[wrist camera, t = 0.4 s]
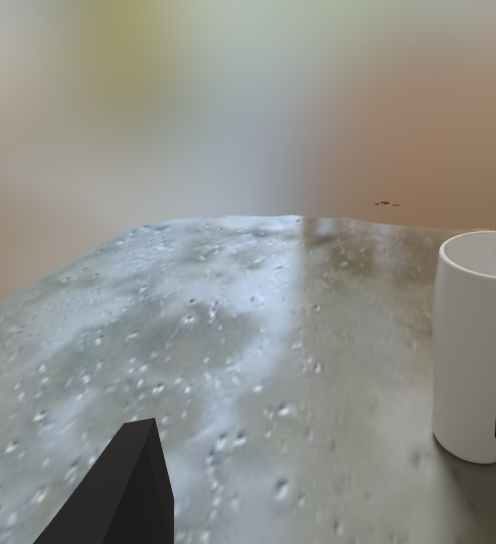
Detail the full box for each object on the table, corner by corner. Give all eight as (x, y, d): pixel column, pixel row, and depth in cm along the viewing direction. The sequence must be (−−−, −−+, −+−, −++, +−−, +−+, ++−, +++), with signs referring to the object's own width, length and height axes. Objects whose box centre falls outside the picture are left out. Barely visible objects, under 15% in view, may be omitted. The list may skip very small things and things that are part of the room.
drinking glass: (546, 475, 27) (608, 274, 21) (440, 480, 28) (466, 286, 21) (495, 399, 33) (530, 225, 27) (408, 405, 34) (421, 235, 27)
